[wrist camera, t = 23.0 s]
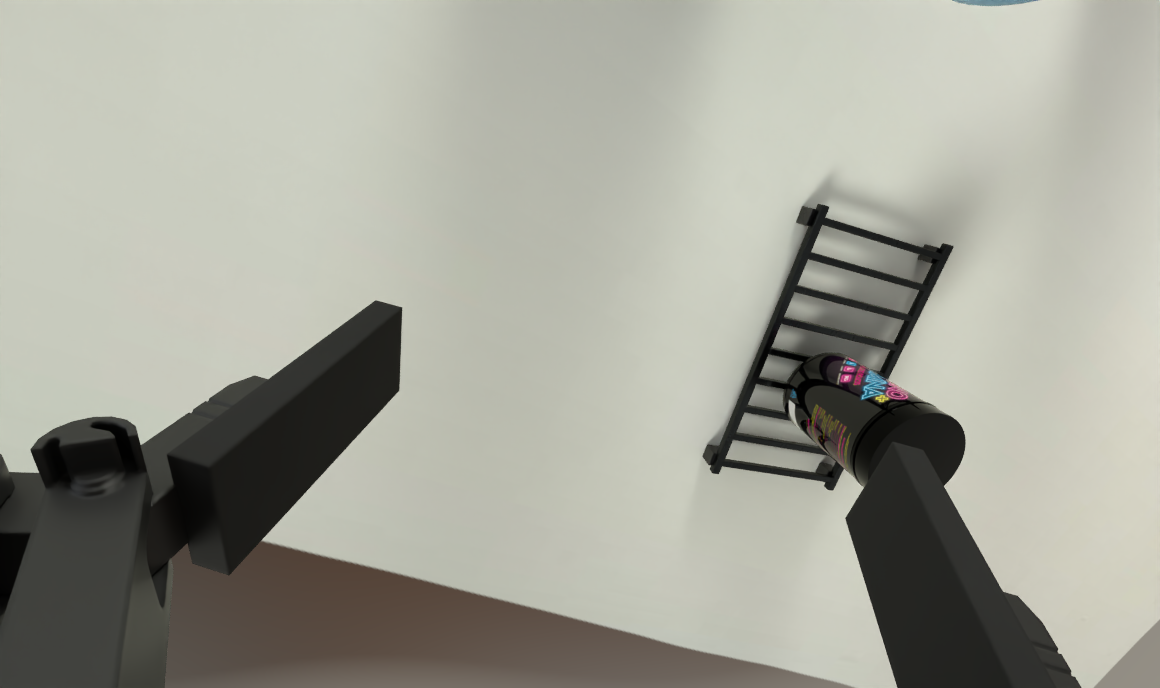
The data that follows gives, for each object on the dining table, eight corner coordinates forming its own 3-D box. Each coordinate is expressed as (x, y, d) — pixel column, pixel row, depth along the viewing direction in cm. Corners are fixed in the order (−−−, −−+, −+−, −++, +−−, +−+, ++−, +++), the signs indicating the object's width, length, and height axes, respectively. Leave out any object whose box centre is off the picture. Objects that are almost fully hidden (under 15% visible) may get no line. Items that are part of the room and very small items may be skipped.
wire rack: (804, 200, 39) (819, 203, 38) (938, 242, 43) (957, 247, 41) (700, 460, 46) (709, 472, 44) (823, 479, 49) (836, 491, 48)
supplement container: (865, 398, 45) (974, 471, 35) (793, 439, 45) (882, 524, 35) (843, 332, 42) (955, 392, 32) (766, 376, 42) (855, 449, 32)
